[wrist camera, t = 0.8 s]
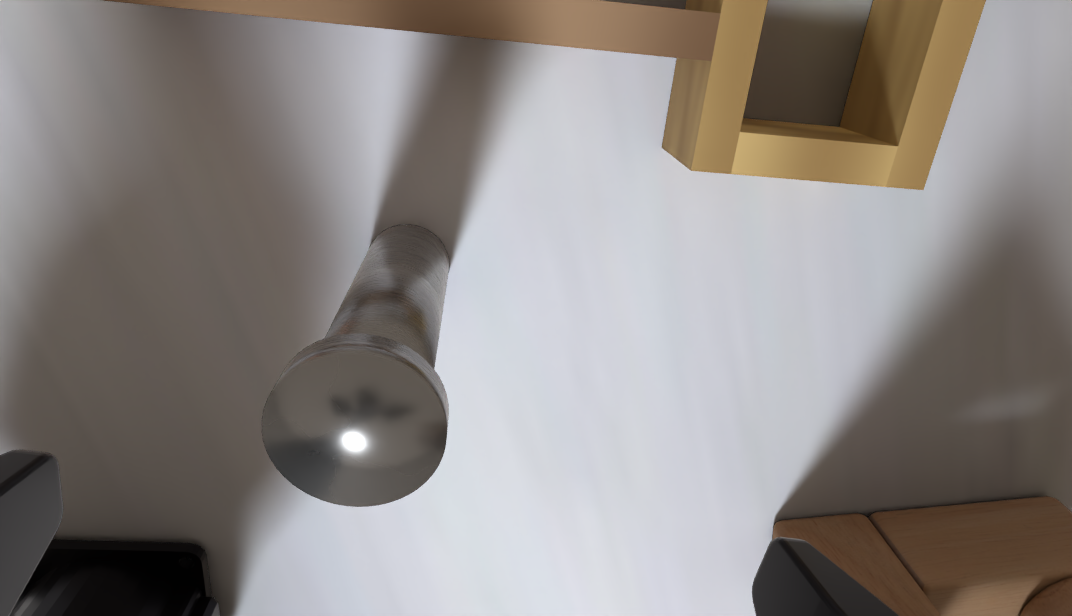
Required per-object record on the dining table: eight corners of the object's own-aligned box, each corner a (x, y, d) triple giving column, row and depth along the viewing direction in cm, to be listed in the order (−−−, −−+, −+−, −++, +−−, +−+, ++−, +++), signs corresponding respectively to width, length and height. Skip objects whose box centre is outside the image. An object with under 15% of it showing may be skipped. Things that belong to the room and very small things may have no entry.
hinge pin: (354, 309, 20) (267, 503, 12) (352, 207, 19) (255, 349, 11) (459, 315, 21) (442, 509, 13) (465, 215, 19) (450, 359, 11)
